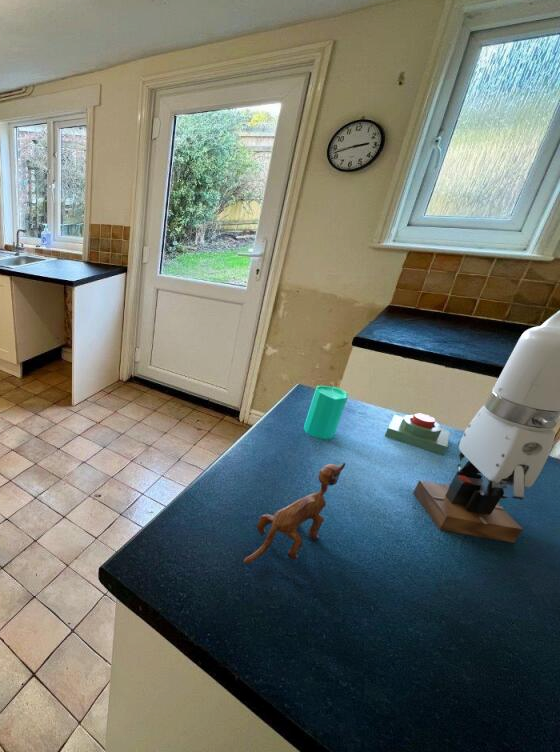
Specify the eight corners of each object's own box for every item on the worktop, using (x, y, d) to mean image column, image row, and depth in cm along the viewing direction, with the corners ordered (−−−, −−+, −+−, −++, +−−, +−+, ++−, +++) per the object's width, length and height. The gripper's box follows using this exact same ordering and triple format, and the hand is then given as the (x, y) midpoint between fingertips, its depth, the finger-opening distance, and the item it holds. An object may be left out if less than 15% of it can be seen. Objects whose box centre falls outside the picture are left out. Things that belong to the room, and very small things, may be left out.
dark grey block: (483, 501, 70) (496, 479, 68) (491, 510, 68) (504, 488, 66) (444, 495, 72) (456, 474, 70) (451, 503, 70) (463, 481, 68)
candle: (299, 431, 95) (313, 384, 89) (308, 421, 98) (322, 376, 93) (329, 442, 91) (345, 394, 85) (337, 431, 94) (354, 385, 89)
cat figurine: (261, 585, 60) (285, 515, 54) (224, 552, 65) (242, 484, 59) (334, 538, 67) (362, 471, 61) (296, 511, 72) (318, 447, 67)
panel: (477, 502, 74) (485, 488, 73) (515, 544, 66) (525, 530, 65) (411, 491, 77) (418, 478, 75) (440, 531, 68) (448, 517, 67)
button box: (446, 439, 91) (454, 424, 90) (443, 455, 86) (451, 439, 85) (390, 422, 98) (396, 407, 96) (384, 436, 93) (390, 421, 91)
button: (433, 424, 90) (436, 417, 90) (431, 431, 88) (434, 424, 87) (412, 418, 93) (415, 411, 92) (410, 424, 90) (413, 417, 90)
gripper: (603, 445, 54) (532, 545, 62) (513, 386, 68) (465, 473, 76) (531, 436, 56) (471, 534, 64) (458, 380, 70) (417, 466, 78)
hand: (468, 500), depth 70 cm, fingers open, 4 cm apart
